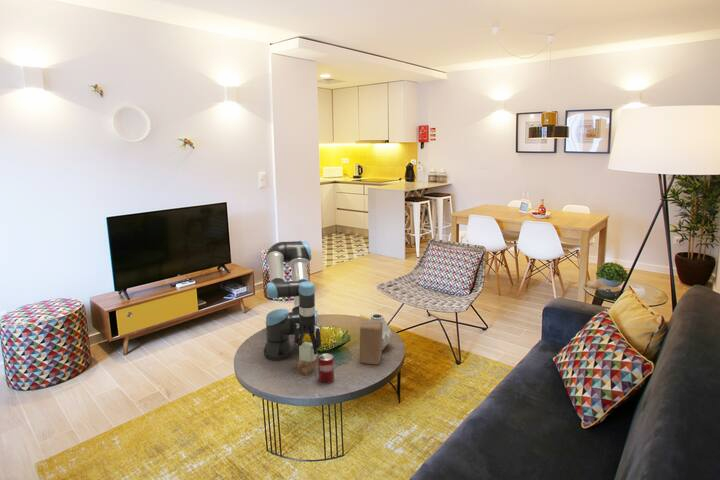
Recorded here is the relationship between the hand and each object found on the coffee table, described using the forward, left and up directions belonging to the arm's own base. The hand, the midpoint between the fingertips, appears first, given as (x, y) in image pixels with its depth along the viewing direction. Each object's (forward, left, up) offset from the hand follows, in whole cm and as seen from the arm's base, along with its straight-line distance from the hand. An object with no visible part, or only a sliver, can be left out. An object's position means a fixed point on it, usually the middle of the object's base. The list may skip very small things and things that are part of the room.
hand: (307, 358), depth 227 cm
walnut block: (0, 0, -6) cm, 6 cm away
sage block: (0, 0, 0) cm, 0 cm away
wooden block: (+25, +21, -6) cm, 33 cm away
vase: (+23, +35, -6) cm, 42 cm away
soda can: (+13, -6, -6) cm, 15 cm away
